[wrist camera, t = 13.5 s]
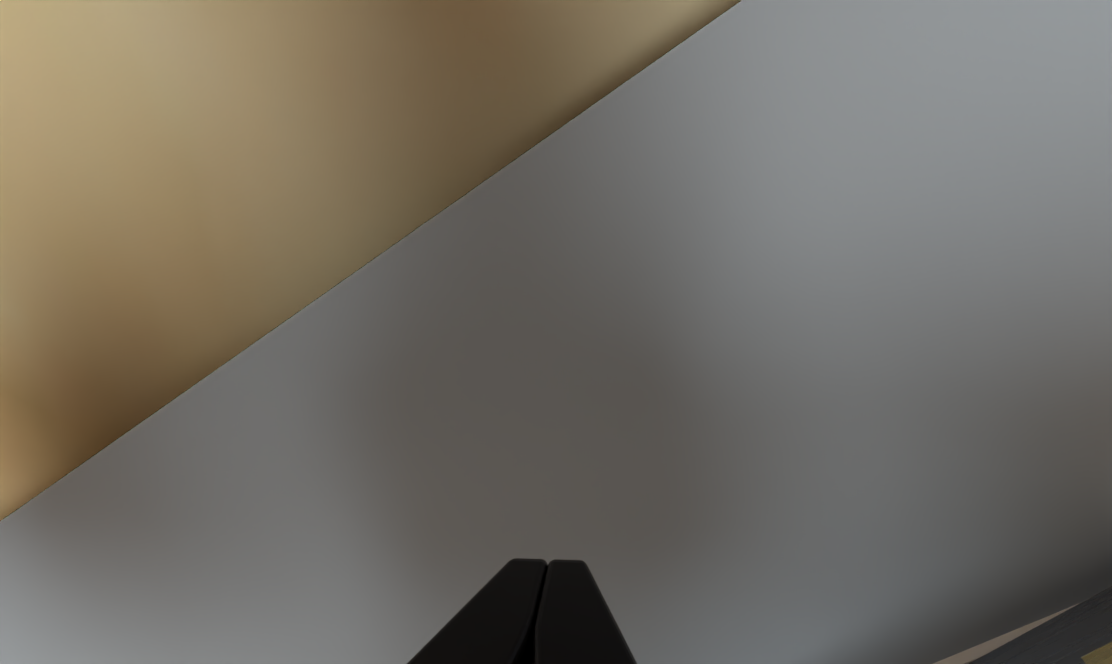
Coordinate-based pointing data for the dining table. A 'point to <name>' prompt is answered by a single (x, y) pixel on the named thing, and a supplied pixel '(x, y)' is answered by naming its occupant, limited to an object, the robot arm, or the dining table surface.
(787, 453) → the lock board
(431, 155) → the dining table surface
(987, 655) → the swing bar
